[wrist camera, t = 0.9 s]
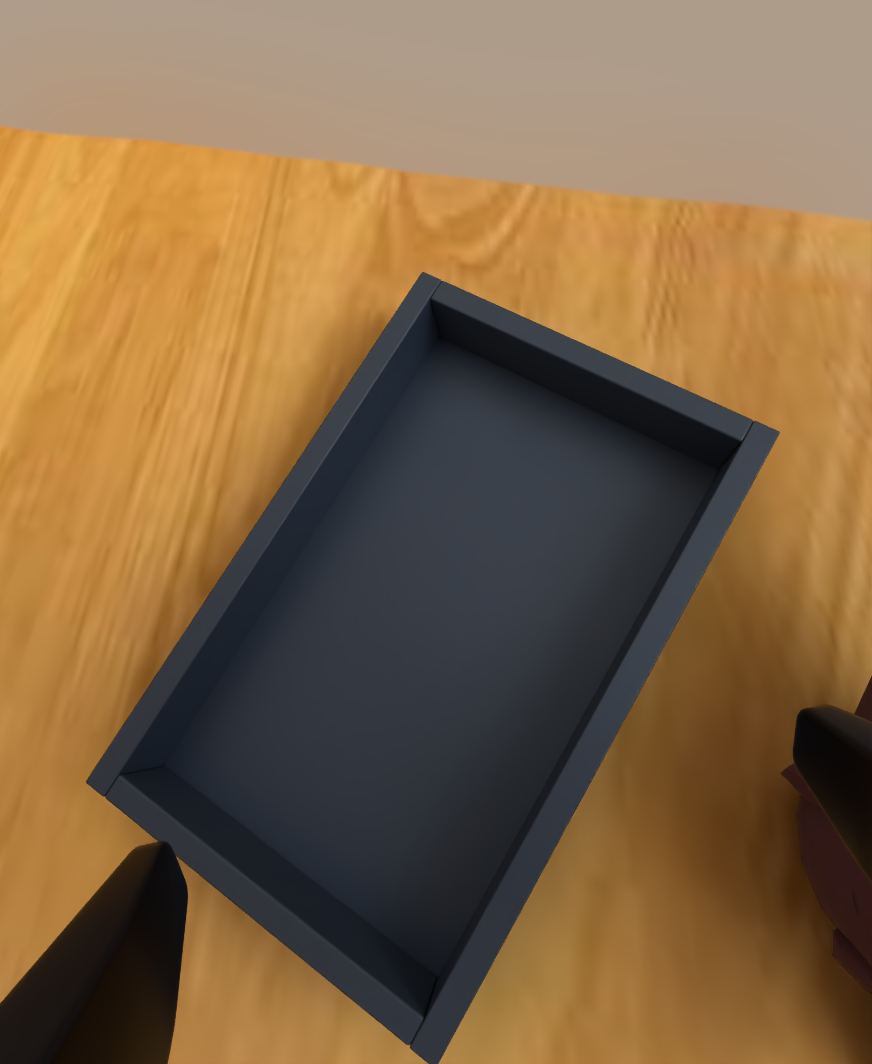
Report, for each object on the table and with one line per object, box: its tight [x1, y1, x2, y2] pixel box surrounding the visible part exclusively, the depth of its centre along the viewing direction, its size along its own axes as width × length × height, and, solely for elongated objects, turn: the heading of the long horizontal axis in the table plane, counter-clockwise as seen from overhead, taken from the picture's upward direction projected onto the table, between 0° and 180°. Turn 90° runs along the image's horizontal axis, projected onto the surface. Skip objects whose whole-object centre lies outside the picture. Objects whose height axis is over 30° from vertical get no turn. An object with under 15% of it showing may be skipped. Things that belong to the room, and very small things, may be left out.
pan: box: [86, 272, 780, 1064], centre depth 20 cm, size 13×20×3 cm, turn 148°
